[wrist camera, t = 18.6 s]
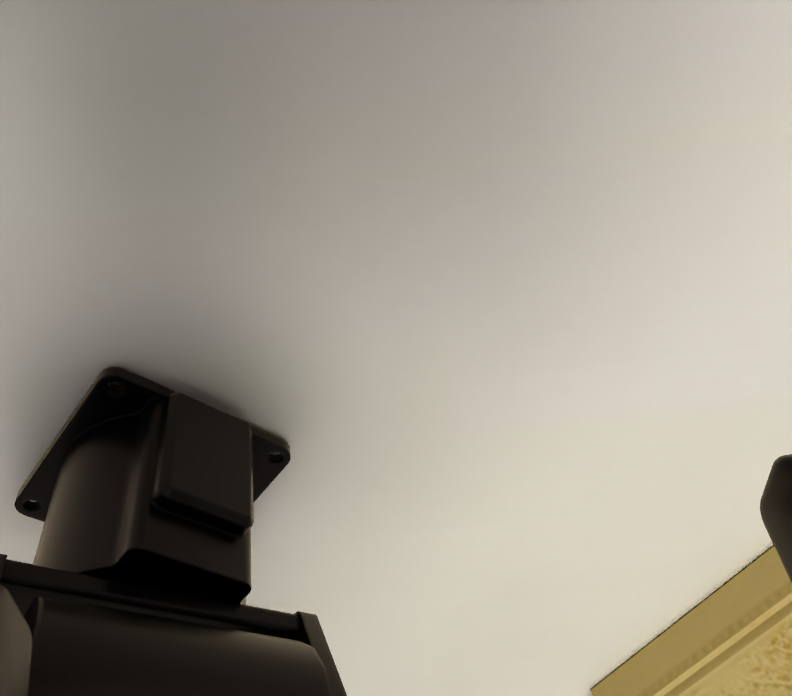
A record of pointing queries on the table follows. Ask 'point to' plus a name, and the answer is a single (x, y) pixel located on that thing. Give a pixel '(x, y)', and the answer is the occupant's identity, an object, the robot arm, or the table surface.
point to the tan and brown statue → (720, 643)
